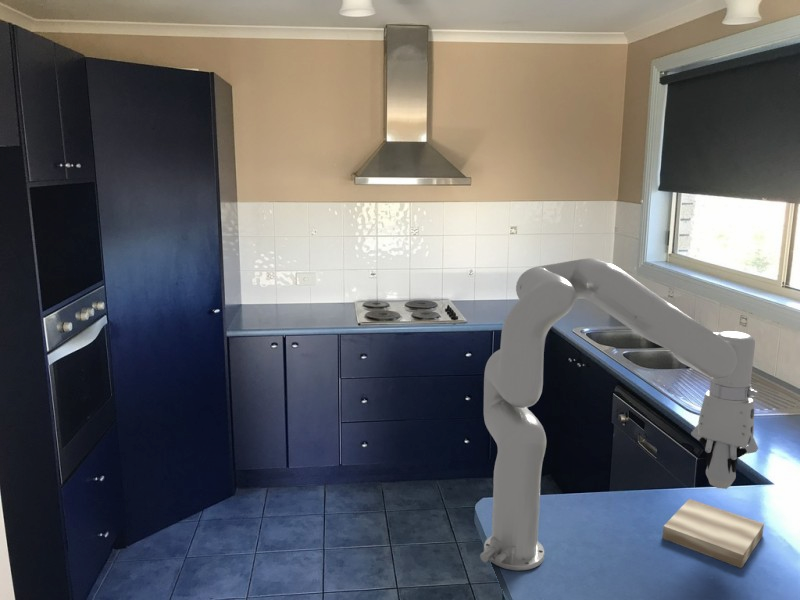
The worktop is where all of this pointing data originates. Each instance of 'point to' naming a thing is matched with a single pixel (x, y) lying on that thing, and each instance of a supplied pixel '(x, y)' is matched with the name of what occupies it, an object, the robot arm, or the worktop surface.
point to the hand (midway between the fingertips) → (720, 470)
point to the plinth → (714, 532)
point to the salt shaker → (720, 467)
